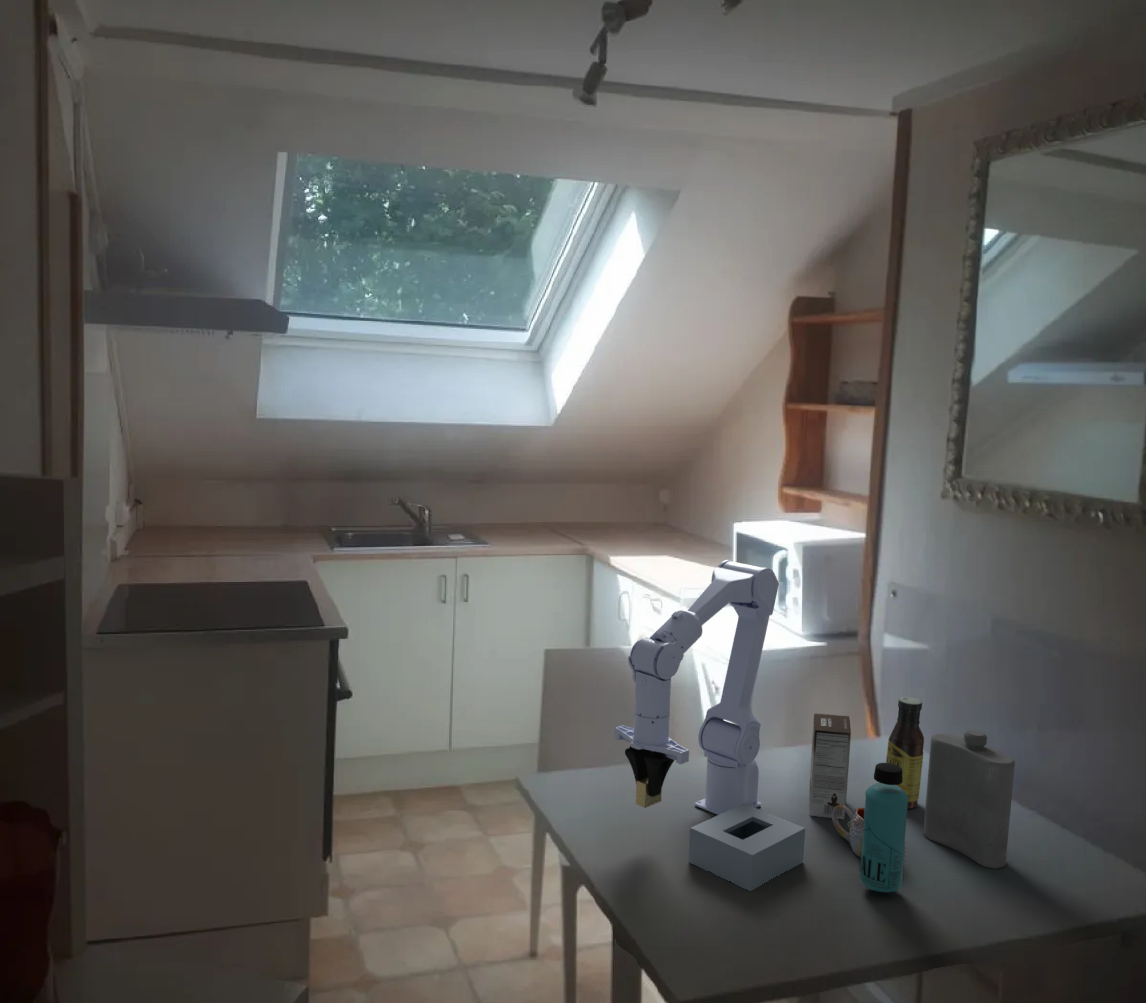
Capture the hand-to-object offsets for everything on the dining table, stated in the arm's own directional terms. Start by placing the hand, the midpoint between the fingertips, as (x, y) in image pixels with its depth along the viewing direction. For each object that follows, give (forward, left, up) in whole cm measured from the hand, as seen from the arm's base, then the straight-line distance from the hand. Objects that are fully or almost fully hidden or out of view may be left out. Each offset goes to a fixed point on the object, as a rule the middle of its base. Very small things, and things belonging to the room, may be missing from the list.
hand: (648, 792), depth 170 cm
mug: (-26, +24, -9) cm, 36 cm away
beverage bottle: (-15, +34, -9) cm, 38 cm away
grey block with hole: (-7, +15, -9) cm, 19 cm away
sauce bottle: (-47, +20, -9) cm, 52 cm away
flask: (-39, +36, -9) cm, 54 cm away
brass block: (0, 0, -2) cm, 2 cm away
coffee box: (-35, +12, -9) cm, 38 cm away
